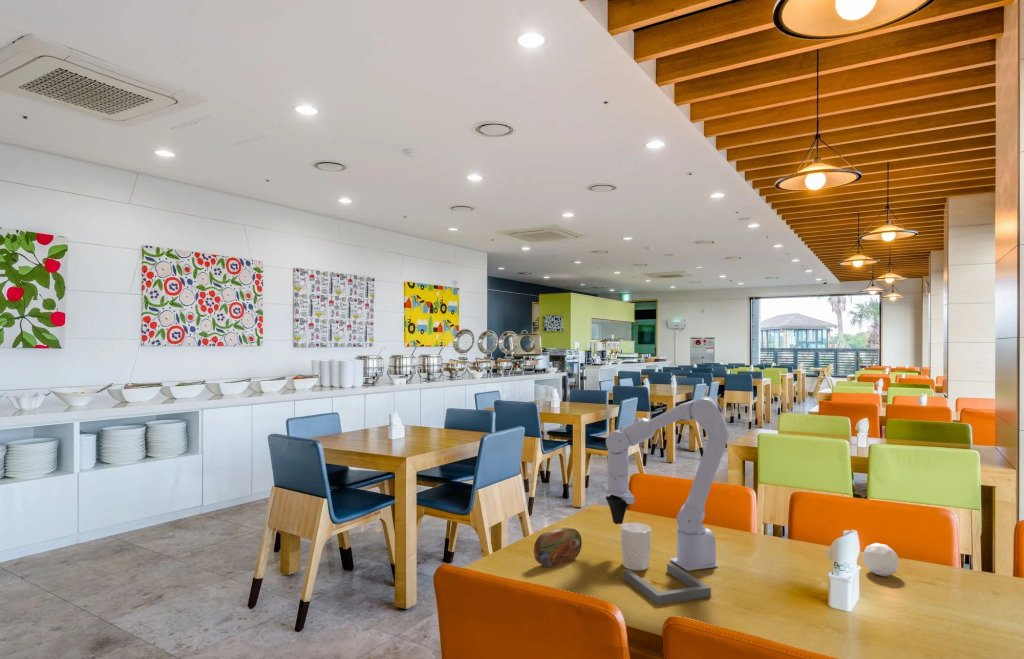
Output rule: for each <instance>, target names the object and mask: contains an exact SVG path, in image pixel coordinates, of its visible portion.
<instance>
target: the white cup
mask: <svg viewBox="0 0 1024 659" xmlns="http://www.w3.org/2000/svg"><path fill="white" fill-rule="evenodd" d="M619 528H620V544H621V545H620V546H621V556H622V566H623V567H625V569H629V570H631V571H645V570H648V568H650V556H651V544H652V543H651V542H652V527H651V526H650V525H648V524H645V523H640V522H626V523H625V522H624V523H622V524H620V527H619Z"/></svg>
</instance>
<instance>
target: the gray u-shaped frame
mask: <svg viewBox="0 0 1024 659" xmlns="http://www.w3.org/2000/svg"><path fill="white" fill-rule="evenodd" d="M622 571H623V572H622V573H623V574H622V578H623V579H625V580H626V581H627V582H628V583H629V584H630V585H632V586H633V587H634V588H635V589H637V590H638V591H639V592H641V593H642V594H643V595H644V596H646V597H647V598H649V600H651V601H652V602H653V603H655V604H656V605H657V606H659V605H666V604H665V603H667V604H671V603H670V602H673V603H679V602H678V601H680V602H685V601H691V600H698V599H704V598H711V597H712V588H711V587H710V586H709V585H707V584H705V582H702V581H701V580H699V579H698V578H696V577H695V576H693V575H691V574H690V573H689V572H687V571H685V569H683V568H681V567H680V566H678V565H677V564H676V565H675V563H671V562H670V563H667V564H666V572H667V573H668V574H670V575H671V576H673V577H674V578H676V579H677V580H678V581H680V582H681V583H683V584H684V585H686V586H687V587H685V588H679V589H671V590H666V591H659V590H658V589H656V588H655V587H654V586H652V584H650V583H649V582H647V581H646V580H644V579H643V578H642V577H640V576H639V575H637V574H636V573H635V572H634V571H633V570H630V569H628V568H625V569H623V570H622Z"/></svg>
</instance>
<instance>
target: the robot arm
mask: <svg viewBox="0 0 1024 659" xmlns="http://www.w3.org/2000/svg"><path fill="white" fill-rule="evenodd" d="M680 420H684V421H685V420H686V421H689V422H690V421H692V420H695V422H696V423H698V424H699V425H700V426H701V427H702V428H703V430H704V431H705V434H706V435H707V437H708V439H707V442H706V445H705V448H704V451H703V453H702V457H701V459H700V462H699V465H698V468H697V471H696V473H695V476H694V480H693V482H692V485H691V487H690V490H689V494H688V496H687V498H686V501H685V502H683V503H682V506H681V507H680V510H679V512H678V513H677V515H676V524H677V526H676V557H670V559H669V560H670V561H671V562H673V564H676V566H678V567H679V568H681V569H683V570H684V571H685V570H686V572H687V571H688V572H690V571H697V570H703V569H710V568H718V566H719V564H717V557H716V556H717V554H716V552H717V545H716V544H717V542H716V537H715V535H714V533H713V531H712V530H711V529H710V528H708V527H705V526H704V524H703V521H704V519H705V517H706V511H705V510H706V509H705V506H706V502H707V499H708V497H709V494H710V491H711V488H712V485H713V482H714V481H715V477H716V474H717V471H718V468H719V465H720V462H721V459H722V456H723V454H724V451H725V449H726V445H727V442H728V440H729V435H730V432H729V429H728V426H727V422H726V419H725V415H724V411H723V408H722V407H721V406H720V404H719V403H718V401H717V400H716V399H715V398H713V397H711V396H707V395H705V396H701V397H699V398H698V399H697V400H696V399H693V400H690V401H689V400H688V401H687V402H686V401H685V402H684V403H681V404H678V405H676V406H674V407H672V408H670V409H669V410H666V411H665V412H663V413H661V414H659V415H657V416H655V417H653V418H651V419H649V418H645V417H641V418H640V417H636V418H635V419H633V422H631V423H629V424H627V425H625V426H624V425H621V426H619V428H618V429H615V431H612V432H610V433H609V434H608V435H607V437H606V438H605V445H606V447H607V483H603V484H602V491H603V493H604V494H606V495H608V496H605V500H606V502H607V504H608V507H609V510H610V512H611V517H612V521H613V524H615V525H622V524H623V523H624V519H625V515H626V511H627V509H628V507H629V505H632V504H635V495H633V494H632V493H631V491H630V490H629V487H630V486H629V483H630V481H629V479H630V478H629V470H630V469H629V465H630V464H629V463H630V462H629V461H630V460H629V447H634V446H636V445H638V444H640V443H643V442H645V441H647V440H648V439H652V438H653V437H654V434H655V432H656V431H657V430H659V429H661V428H664V427H665V426H668V425H670V424H673V423H675V422H677V421H678V422H679V421H680Z"/></svg>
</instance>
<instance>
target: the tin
mask: <svg viewBox="0 0 1024 659" xmlns="http://www.w3.org/2000/svg"><path fill="white" fill-rule="evenodd" d="M582 540H583V539H582V536H581V534H580V532H579V531H578V530H577V529H576V528H570V527H562V528H557V529H555V530H551V531H547V532H543V533H542V534H540V535H539V536H538V537H537V538H536V540H535V542H534V546H533V554H534V559H535V561H537V563H538V564H540V565H542V566H544V567H546V568H553V567H556V566H560V565H562V564H565V563H568V562H571V561H574V560H575V559H577V557H578V556H579V555H580V553H581V551H582V545H583V542H582Z"/></svg>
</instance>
